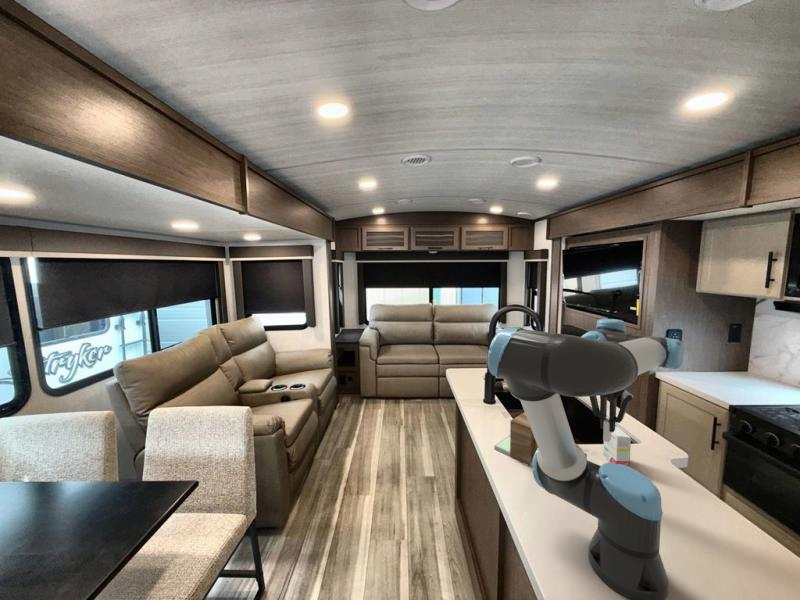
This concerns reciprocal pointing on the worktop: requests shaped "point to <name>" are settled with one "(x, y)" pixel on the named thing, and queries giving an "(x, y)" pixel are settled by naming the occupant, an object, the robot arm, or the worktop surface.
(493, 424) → the worktop surface
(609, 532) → the robot arm
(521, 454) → the wooden house block
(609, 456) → the ink box
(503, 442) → the deck
